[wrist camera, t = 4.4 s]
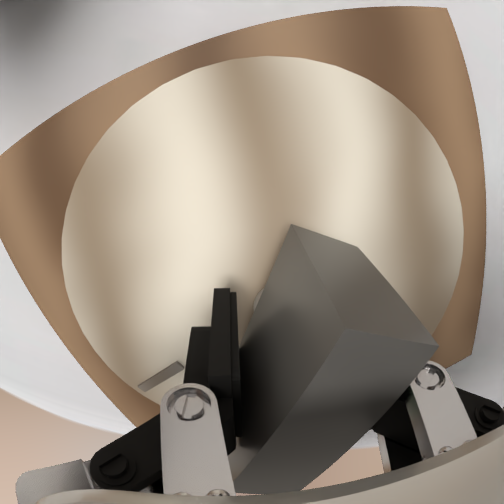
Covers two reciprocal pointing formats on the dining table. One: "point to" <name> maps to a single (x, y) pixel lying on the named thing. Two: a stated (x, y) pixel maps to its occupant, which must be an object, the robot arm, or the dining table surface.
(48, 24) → the dining table surface
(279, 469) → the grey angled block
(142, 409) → the brown wooden flat block
